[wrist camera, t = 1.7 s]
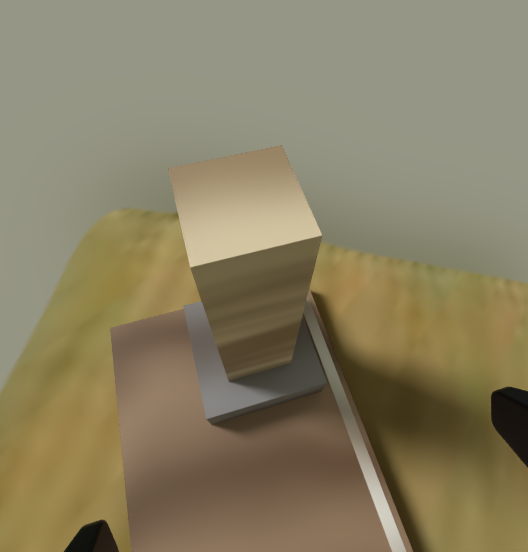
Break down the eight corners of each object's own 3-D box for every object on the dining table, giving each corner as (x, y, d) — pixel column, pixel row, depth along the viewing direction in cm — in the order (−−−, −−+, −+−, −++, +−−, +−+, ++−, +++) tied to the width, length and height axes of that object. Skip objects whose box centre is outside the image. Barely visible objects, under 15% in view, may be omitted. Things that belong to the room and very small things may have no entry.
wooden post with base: (321, 391, 20) (401, 269, 8) (211, 425, 19) (135, 340, 8) (286, 294, 23) (311, 105, 11) (189, 320, 22) (110, 143, 10)
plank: (463, 705, 15) (482, 727, 14) (172, 839, 13) (162, 879, 12) (302, 288, 24) (305, 277, 23) (119, 336, 23) (110, 327, 21)
